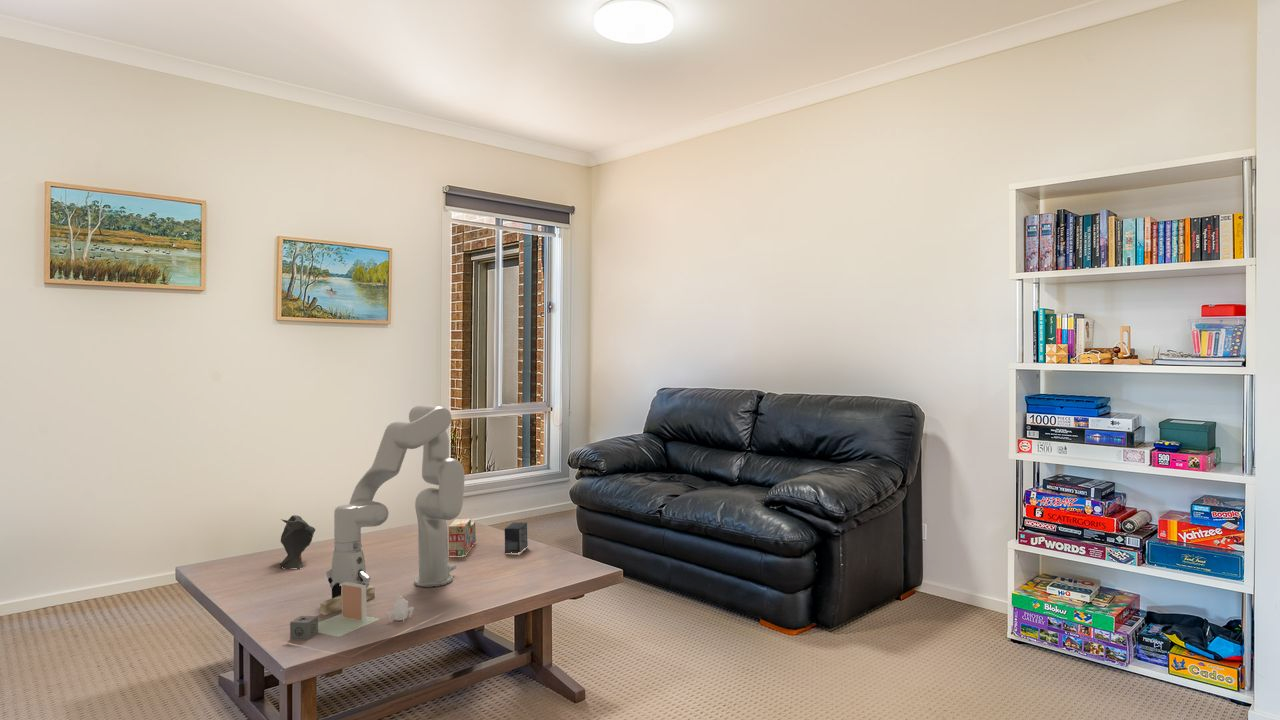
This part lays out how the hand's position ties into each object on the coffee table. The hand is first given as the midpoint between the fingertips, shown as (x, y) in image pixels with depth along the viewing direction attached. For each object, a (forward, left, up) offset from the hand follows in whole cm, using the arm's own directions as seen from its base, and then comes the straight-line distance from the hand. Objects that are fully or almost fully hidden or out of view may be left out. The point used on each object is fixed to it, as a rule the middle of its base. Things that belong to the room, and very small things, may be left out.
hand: (348, 602), depth 221 cm
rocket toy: (+3, +24, -2) cm, 24 cm away
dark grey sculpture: (-28, -57, -2) cm, 64 cm away
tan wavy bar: (0, 0, -2) cm, 2 cm away
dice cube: (+23, +9, -2) cm, 25 cm away
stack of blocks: (-68, -11, -2) cm, 68 cm away
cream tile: (+8, +11, -1) cm, 14 cm away
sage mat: (+12, +11, -1) cm, 17 cm away
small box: (-74, +10, -2) cm, 75 cm away
